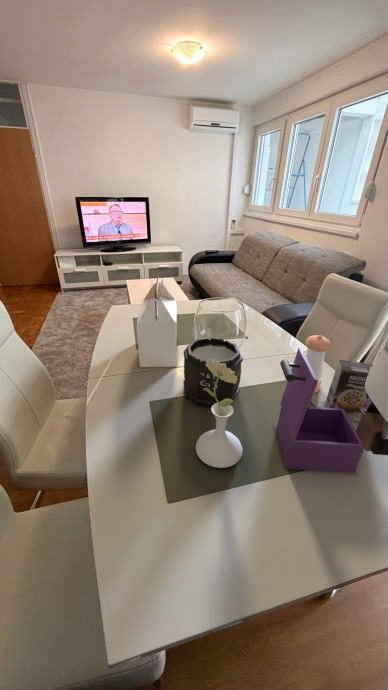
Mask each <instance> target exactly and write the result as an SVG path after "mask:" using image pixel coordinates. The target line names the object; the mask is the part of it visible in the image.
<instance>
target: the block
mask: <svg viewBox="0 0 388 690" xmlns="http://www.w3.org/2000/svg"><path fill="white" fill-rule="evenodd" d="M384 422H385V419H384V417H383V416H382V415H381V413H367V412H363V413H362V416H361V418H360V421H359V422H358V423H357V427H356V428H355V430H356V433H357V435H358V437H359V439H360V440H361V442H362V444H363V446H364V451H366V452H372V451H371V449H372V447H373V445H374V442H375V440H376V438H377V435H378V433H382V430H383V426H384Z"/></svg>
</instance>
